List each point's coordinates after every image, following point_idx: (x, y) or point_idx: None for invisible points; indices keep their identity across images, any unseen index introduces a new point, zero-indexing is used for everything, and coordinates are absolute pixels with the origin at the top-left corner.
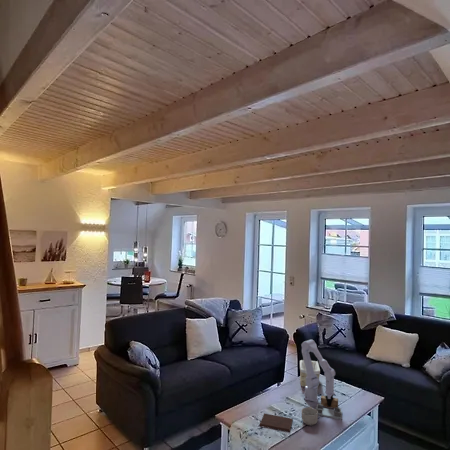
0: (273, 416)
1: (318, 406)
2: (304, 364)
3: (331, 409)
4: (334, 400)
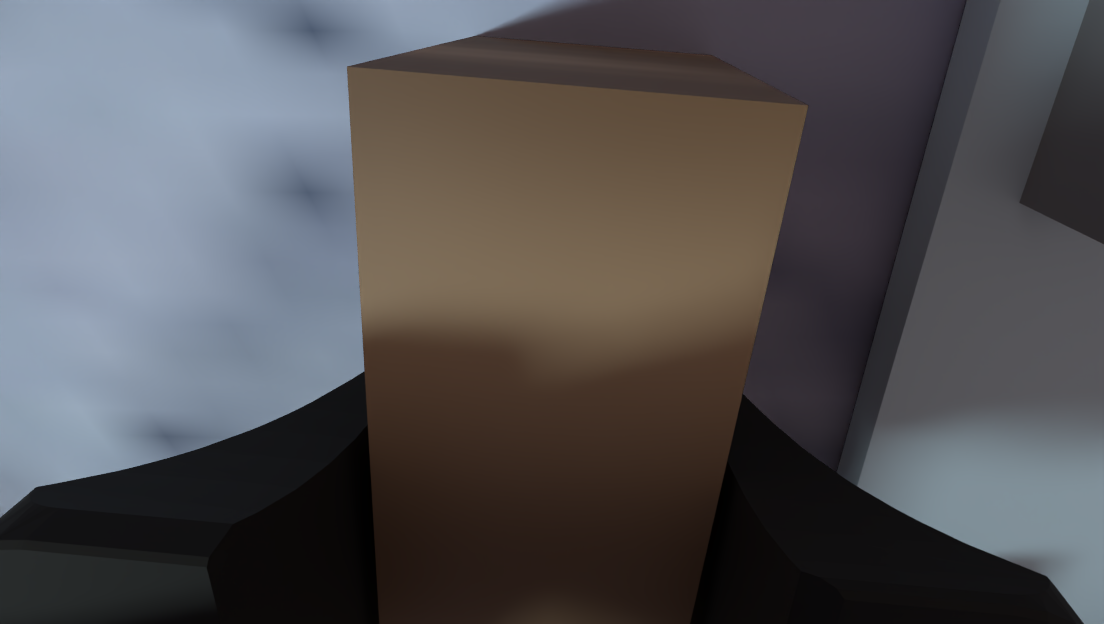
0: None
1: None
2: None
3: (920, 323)
4: (747, 345)
